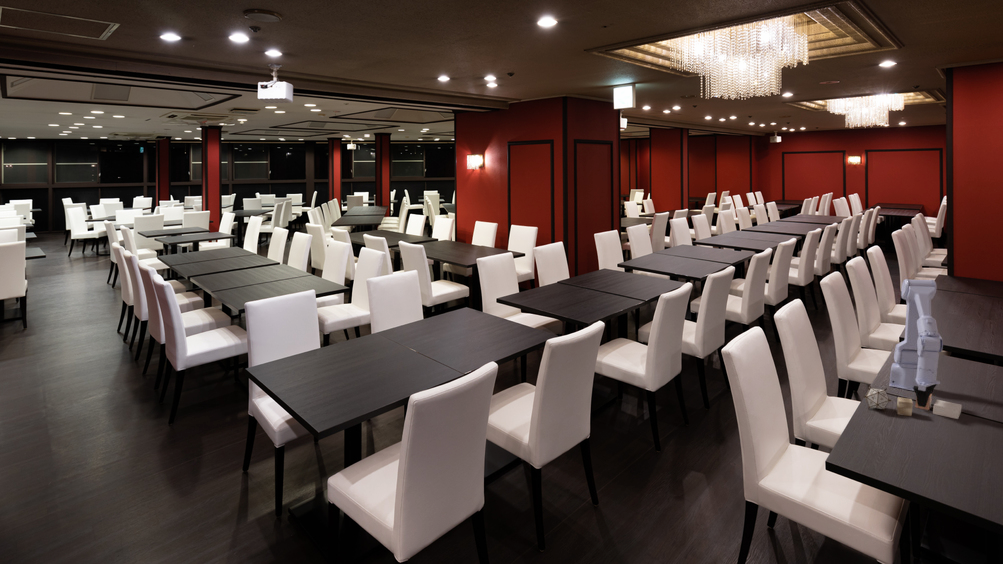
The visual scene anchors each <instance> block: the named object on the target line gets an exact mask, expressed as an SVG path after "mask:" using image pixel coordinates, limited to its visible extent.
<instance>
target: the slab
mask: <svg viewBox="0 0 1003 564" xmlns="http://www.w3.org/2000/svg"><path fill="white" fill-rule="evenodd" d="M932 407H933V409H932V414H933V415H938V416H942V417H946V418H951V419H956V420H959V417H960V415H961V414H962V407H963V406H962V404H960V403H955V402H951V401H950V402H949V401H945V400H942V399H941V400H940V399H936V401H935V403H934V404H933V406H932Z"/></svg>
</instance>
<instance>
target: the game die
mask: <svg viewBox="0 0 1003 564" xmlns="http://www.w3.org/2000/svg"><path fill="white" fill-rule="evenodd" d="M868 388H869V390H868V392H867V393H866V395H864V396H863V398H865V400H866V402H867V405H868V407H867V410H869V409H870V408H872V409H878V410H883V412H886V409H885V408H886V407H887V406H888V404H889V402H892V401H893V400H892V399H890V398H889V395H888V393H887V388H884V389H880V388H873V387H872V386H870V385H869V387H868Z"/></svg>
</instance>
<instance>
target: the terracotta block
mask: <svg viewBox="0 0 1003 564" xmlns="http://www.w3.org/2000/svg"><path fill="white" fill-rule="evenodd" d="M932 399H933V394H930V396H929V398H928V401H927V404H926V406H925V407H922V406H918V403H917V397H915V406H914V407H915V408H917V409H919V410H920V409H921V410H925V411H930V409H931V407H932Z"/></svg>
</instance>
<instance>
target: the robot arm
mask: <svg viewBox="0 0 1003 564" xmlns="http://www.w3.org/2000/svg"><path fill="white" fill-rule="evenodd" d="M937 287H938V286H937V282H936V281H935V279H908V278H905V279H904V280H903V281H902V283H901V291H900V296H901V299H903V300H904V301H906V303H905V304H906V312H905V328H904V340H902V341H901V342H898V343H896V345H895V349H894V352H893V360H894V362H892V364H891V367H890V373H889V374H890V375H889V385H888V386H889V387H892V388H893V387H894V388H897V389H903V390H907V391H911V392H912V391H913V392H914V393H915V396H916V397H917V403H918V406H922V407H925V406H926V404H927V401H928V398H929V396H930V394H932V393H933V392H934V389H935V388H936V386H937V385H940V384H941V380H940V381H939V380H937V376H938V375H937V373H938V365H939V359H940V358H939V356H940V353H941V352H942V351H943V349H944V348H943V347H944V343H943V338H942V336H941V334H940V333H939V330H938V325H937V320H936V318H934V317H932V300H933V299H934V297H935V295H936V292H937ZM932 395H933V394H932ZM916 397H915V398H916Z"/></svg>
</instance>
